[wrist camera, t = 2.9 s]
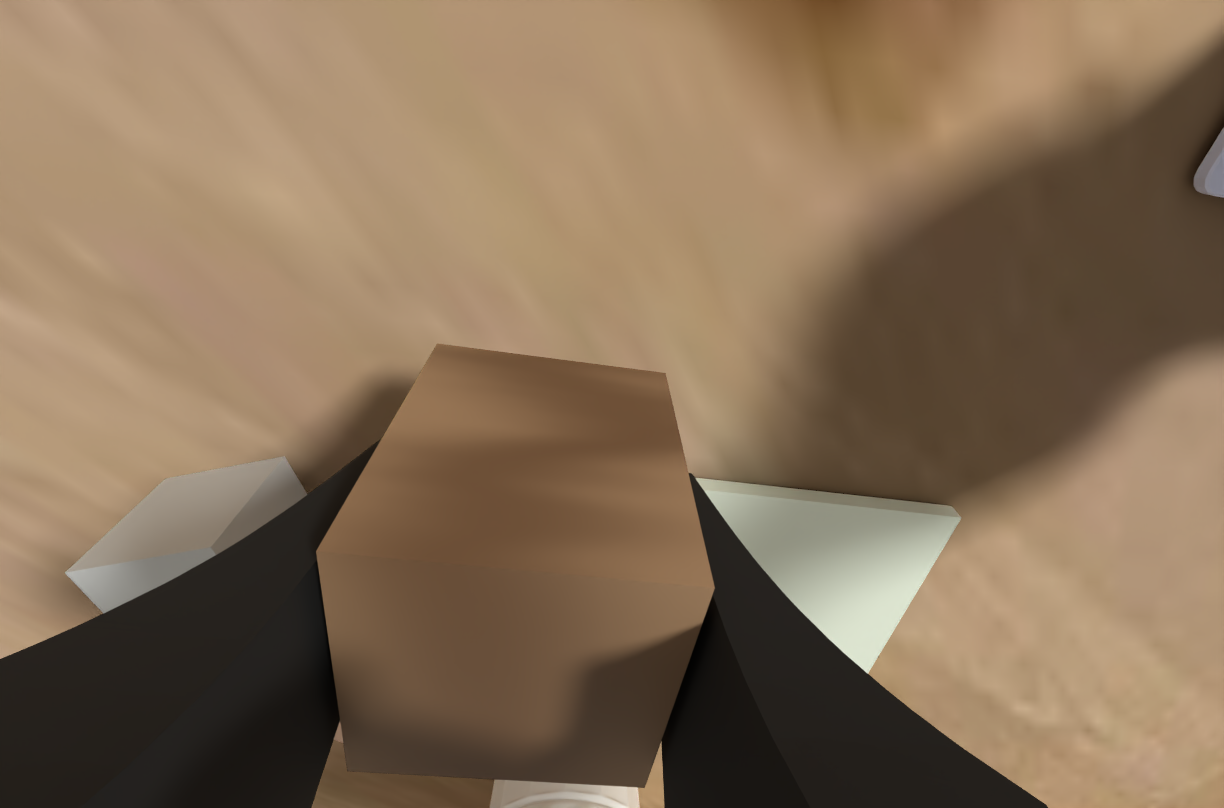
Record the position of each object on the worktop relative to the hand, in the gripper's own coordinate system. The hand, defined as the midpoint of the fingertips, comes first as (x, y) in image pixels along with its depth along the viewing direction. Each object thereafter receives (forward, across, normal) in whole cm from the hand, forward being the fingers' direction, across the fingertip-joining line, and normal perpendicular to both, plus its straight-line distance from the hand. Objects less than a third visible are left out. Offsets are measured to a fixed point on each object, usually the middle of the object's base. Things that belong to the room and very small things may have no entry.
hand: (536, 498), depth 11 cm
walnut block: (+2, 0, 0) cm, 2 cm away
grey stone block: (+6, +9, +7) cm, 13 cm away
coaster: (+6, -9, +9) cm, 14 cm away
